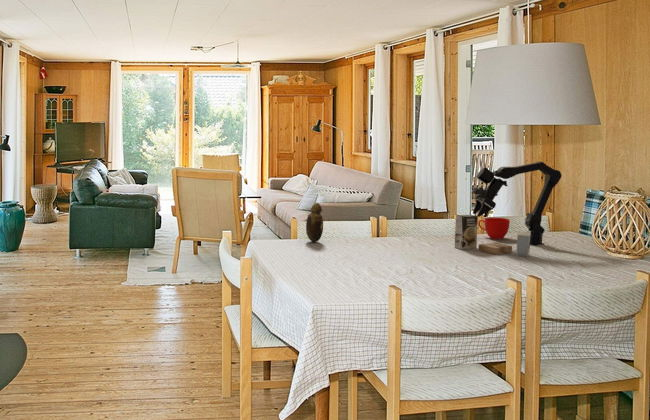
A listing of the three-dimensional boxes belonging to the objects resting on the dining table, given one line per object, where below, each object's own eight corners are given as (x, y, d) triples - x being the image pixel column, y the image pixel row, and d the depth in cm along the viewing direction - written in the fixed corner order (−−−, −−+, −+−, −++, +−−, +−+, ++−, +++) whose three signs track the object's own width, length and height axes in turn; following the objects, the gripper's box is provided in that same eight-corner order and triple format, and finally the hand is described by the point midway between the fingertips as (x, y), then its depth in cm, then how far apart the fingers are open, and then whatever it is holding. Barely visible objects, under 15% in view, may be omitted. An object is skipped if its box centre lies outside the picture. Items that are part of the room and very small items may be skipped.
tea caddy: (518, 254, 353) (519, 231, 351) (529, 255, 351) (530, 232, 349) (516, 256, 348) (517, 232, 347) (527, 257, 346) (528, 233, 345)
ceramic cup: (483, 234, 408) (483, 216, 406) (512, 237, 398) (513, 219, 397) (472, 237, 397) (473, 219, 396) (503, 241, 388) (503, 222, 386)
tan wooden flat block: (495, 248, 367) (495, 242, 366) (511, 252, 357) (512, 246, 357) (478, 250, 361) (478, 244, 360) (495, 254, 352) (495, 248, 351)
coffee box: (462, 249, 363) (463, 216, 361) (454, 247, 368) (455, 215, 366) (477, 248, 367) (478, 215, 365) (468, 246, 373) (470, 214, 370)
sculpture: (323, 244, 375) (324, 204, 372) (307, 244, 374) (307, 204, 371) (321, 239, 388) (321, 201, 385) (305, 239, 387) (305, 201, 384)
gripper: (475, 178, 382) (458, 204, 384) (485, 182, 364) (467, 209, 365) (493, 190, 384) (475, 215, 385) (503, 194, 365) (485, 221, 366)
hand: (475, 215), depth 375 cm, fingers open, 9 cm apart
